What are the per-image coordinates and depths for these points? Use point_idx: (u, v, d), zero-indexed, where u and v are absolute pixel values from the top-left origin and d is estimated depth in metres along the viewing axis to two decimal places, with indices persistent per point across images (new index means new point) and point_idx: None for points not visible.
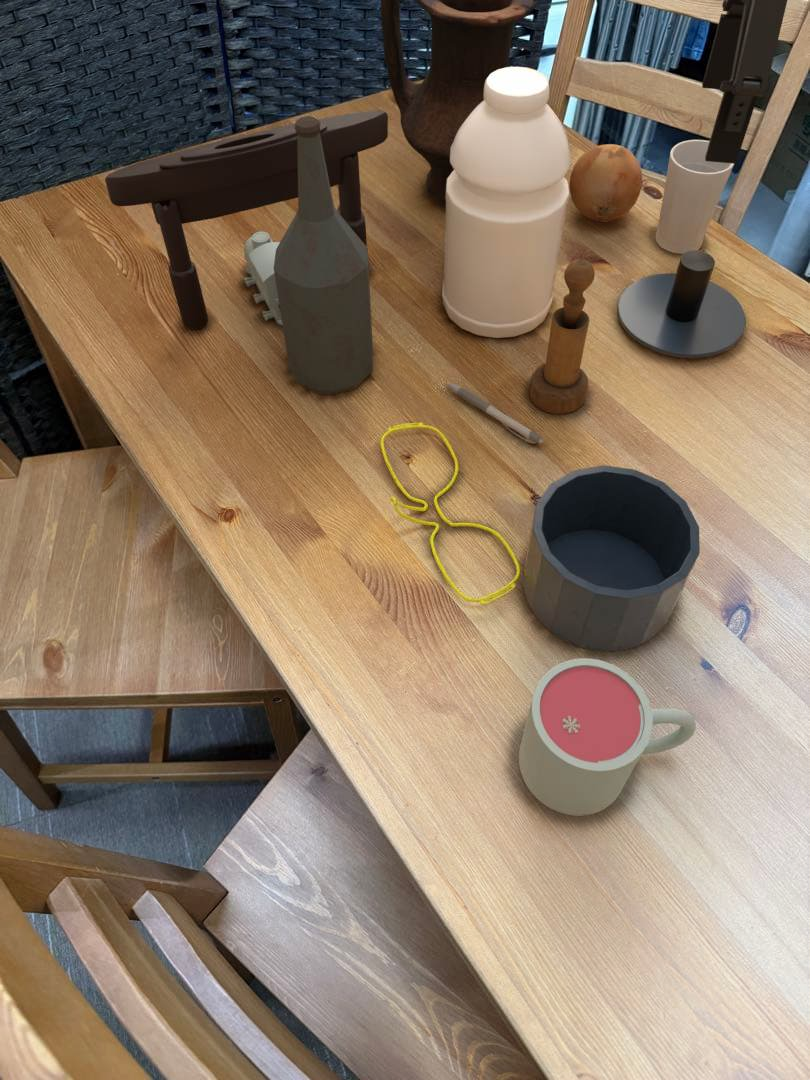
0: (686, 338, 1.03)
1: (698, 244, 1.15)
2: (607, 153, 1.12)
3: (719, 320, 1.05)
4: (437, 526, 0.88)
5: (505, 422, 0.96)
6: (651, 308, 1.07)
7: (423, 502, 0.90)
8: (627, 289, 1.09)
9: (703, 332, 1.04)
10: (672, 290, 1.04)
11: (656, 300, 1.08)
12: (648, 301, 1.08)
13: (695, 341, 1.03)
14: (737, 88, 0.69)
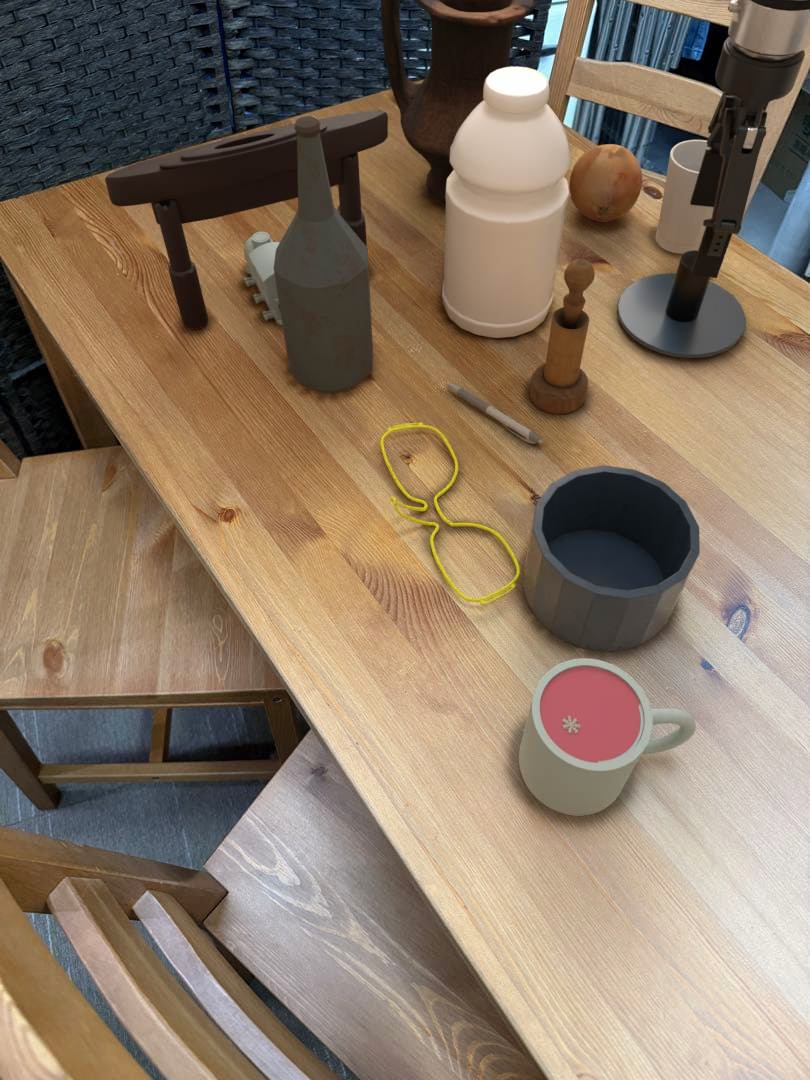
0: (686, 338, 1.03)
1: (698, 244, 1.15)
2: (607, 153, 1.12)
3: (719, 320, 1.05)
4: (437, 526, 0.88)
5: (505, 422, 0.96)
6: (651, 308, 1.07)
7: (423, 502, 0.90)
8: (627, 289, 1.09)
9: (703, 332, 1.04)
10: (672, 290, 1.04)
11: (656, 300, 1.08)
12: (648, 301, 1.08)
13: (695, 341, 1.03)
14: (716, 228, 0.86)
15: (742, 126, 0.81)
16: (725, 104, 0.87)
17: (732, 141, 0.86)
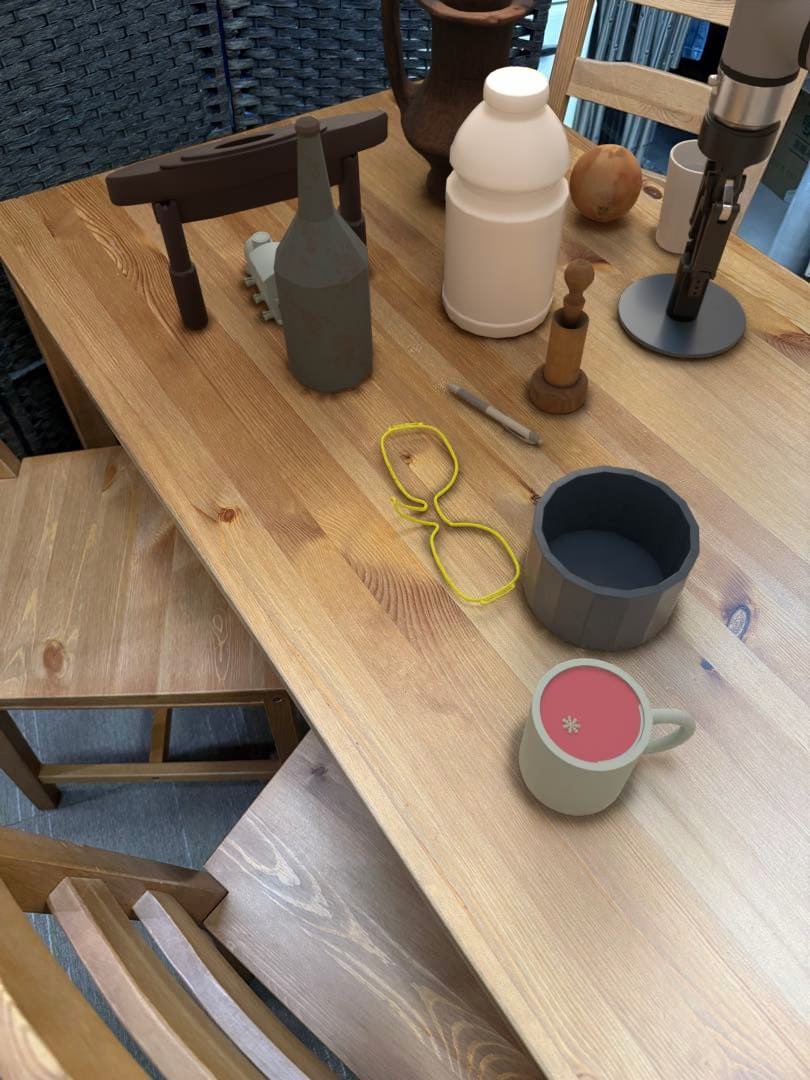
0: (686, 338, 1.03)
1: None
2: (607, 153, 1.12)
3: (719, 320, 1.05)
4: (437, 526, 0.88)
5: (505, 422, 0.96)
6: (651, 308, 1.07)
7: (423, 502, 0.90)
8: (627, 289, 1.09)
9: (703, 332, 1.04)
10: (672, 290, 1.04)
11: (657, 300, 1.08)
12: (648, 301, 1.08)
13: (695, 341, 1.03)
14: (693, 276, 0.96)
15: (717, 206, 0.88)
16: (708, 163, 0.92)
17: (714, 201, 0.91)
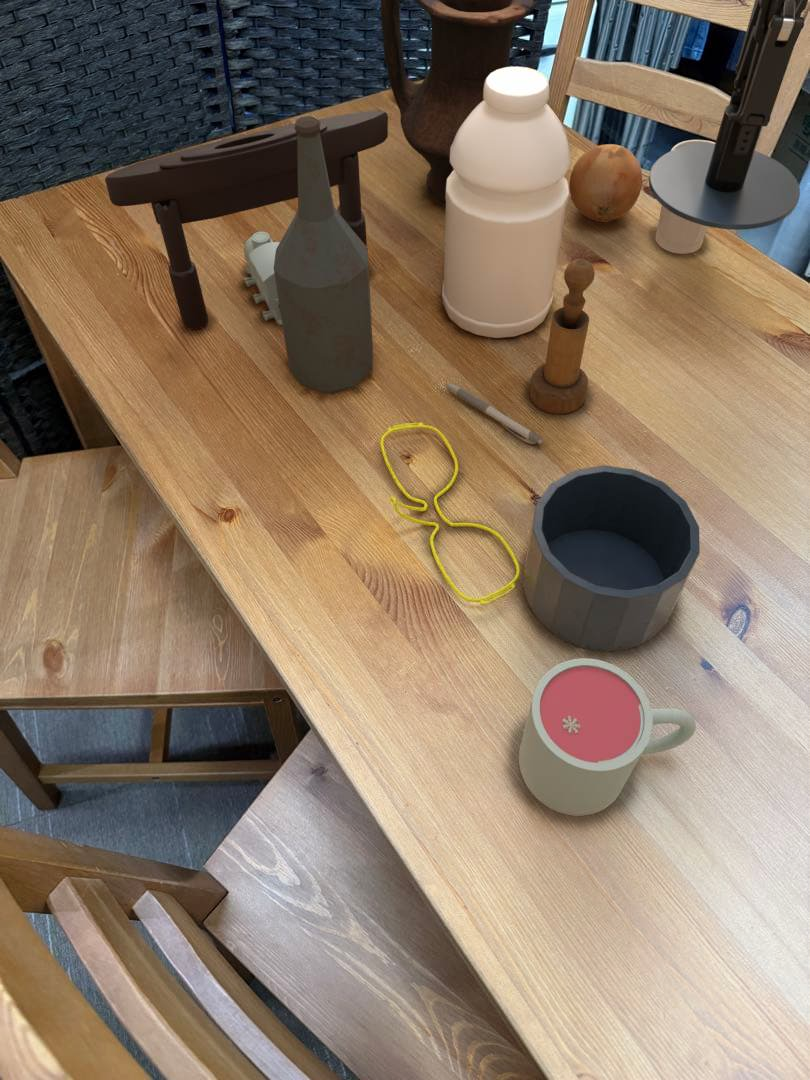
0: (730, 208, 0.88)
1: (698, 244, 1.15)
2: (607, 153, 1.12)
3: (768, 190, 0.90)
4: (437, 526, 0.88)
5: (504, 423, 0.96)
6: (688, 178, 0.92)
7: (423, 502, 0.90)
8: (660, 159, 0.94)
9: (750, 202, 0.89)
10: (714, 152, 0.88)
11: (694, 170, 0.92)
12: (685, 171, 0.92)
13: (741, 211, 0.88)
14: (743, 122, 0.81)
15: (777, 20, 0.73)
16: None
17: None
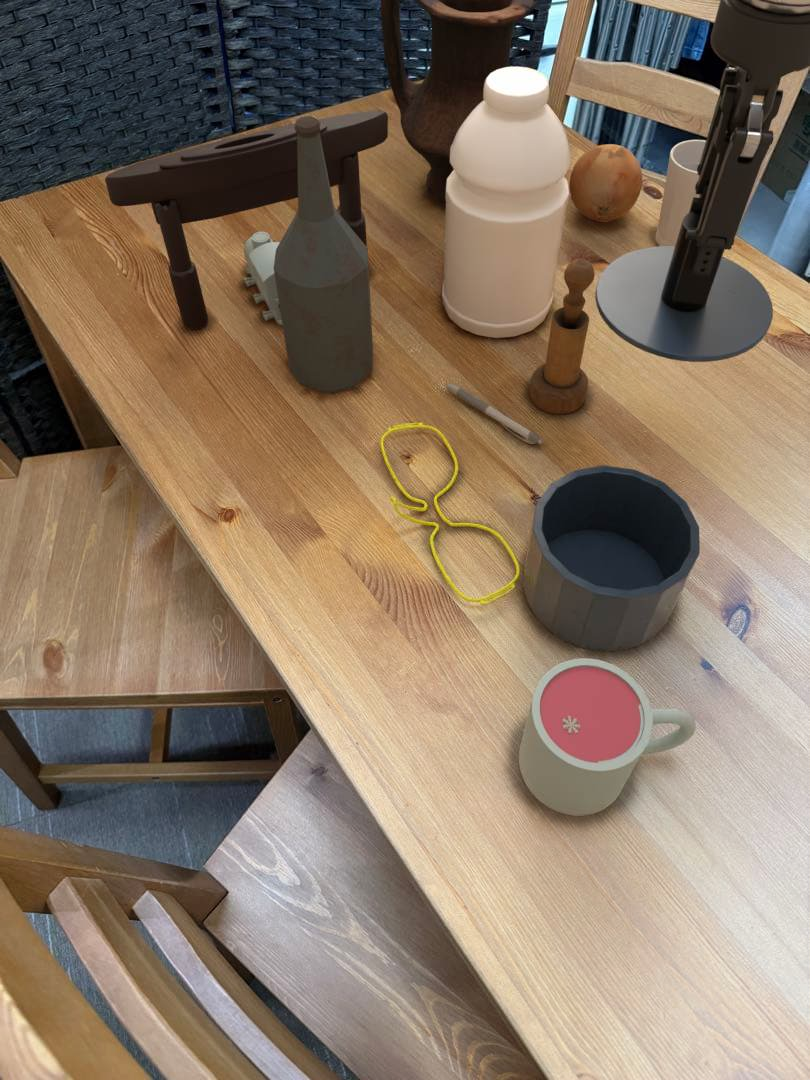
0: (689, 334, 0.74)
1: None
2: (607, 153, 1.12)
3: (736, 310, 0.76)
4: (437, 526, 0.88)
5: (504, 423, 0.96)
6: (641, 292, 0.77)
7: (423, 502, 0.90)
8: (610, 266, 0.79)
9: (713, 326, 0.74)
10: (671, 267, 0.74)
11: (650, 281, 0.78)
12: (638, 283, 0.78)
13: (702, 338, 0.74)
14: (701, 244, 0.66)
15: (739, 134, 0.58)
16: (726, 76, 0.62)
17: (734, 131, 0.62)
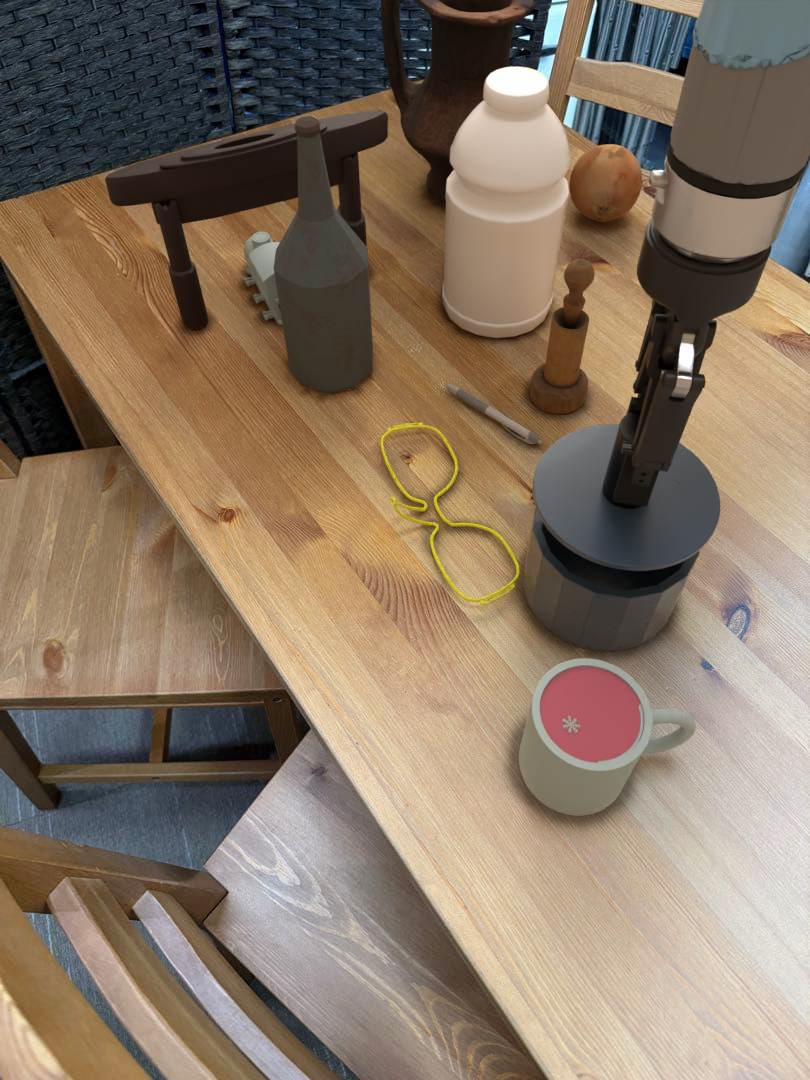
0: (630, 537, 0.69)
1: None
2: (607, 153, 1.12)
3: (681, 505, 0.71)
4: (437, 526, 0.88)
5: (504, 423, 0.96)
6: (581, 483, 0.72)
7: (423, 502, 0.90)
8: (549, 451, 0.75)
9: (656, 527, 0.70)
10: (610, 465, 0.69)
11: (590, 469, 0.73)
12: (578, 472, 0.73)
13: (644, 543, 0.69)
14: (636, 466, 0.61)
15: (668, 379, 0.53)
16: None
17: (666, 360, 0.57)
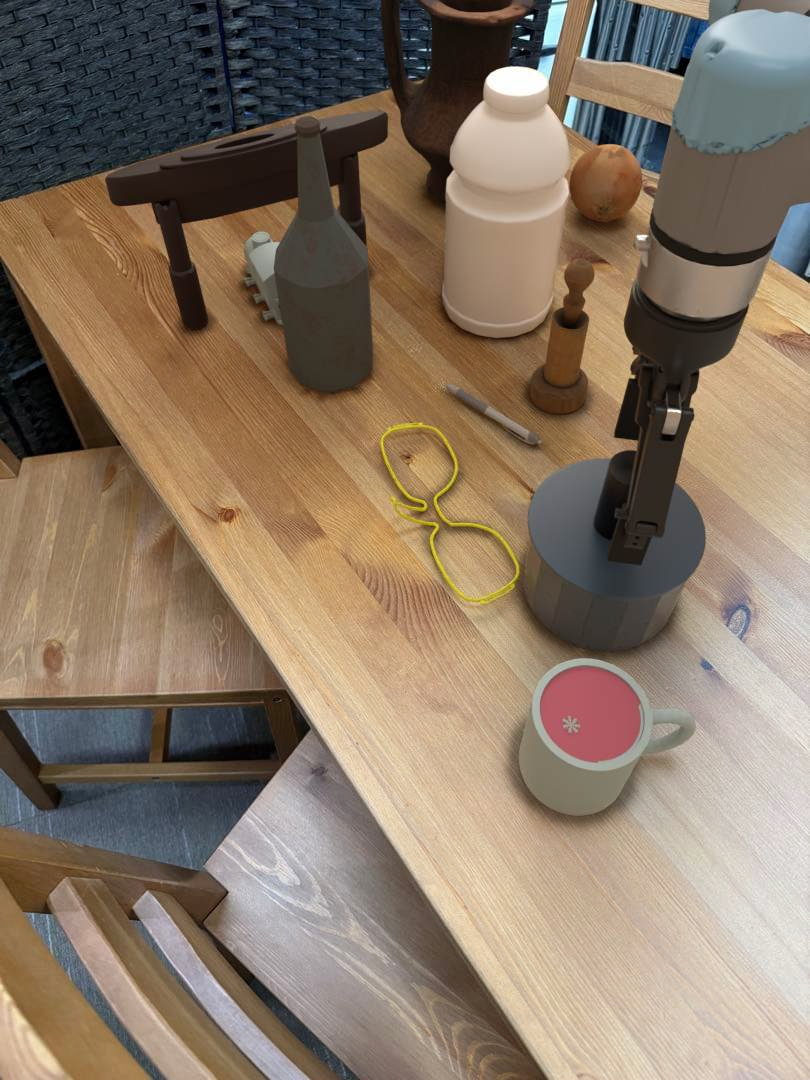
0: (620, 569, 0.73)
1: None
2: (607, 153, 1.12)
3: (668, 538, 0.75)
4: (437, 526, 0.88)
5: (504, 423, 0.96)
6: (573, 516, 0.76)
7: (423, 502, 0.90)
8: (543, 485, 0.78)
9: (645, 559, 0.73)
10: (600, 501, 0.73)
11: (582, 503, 0.77)
12: (570, 505, 0.77)
13: (633, 575, 0.72)
14: (630, 530, 0.60)
15: (659, 408, 0.56)
16: None
17: (652, 406, 0.61)
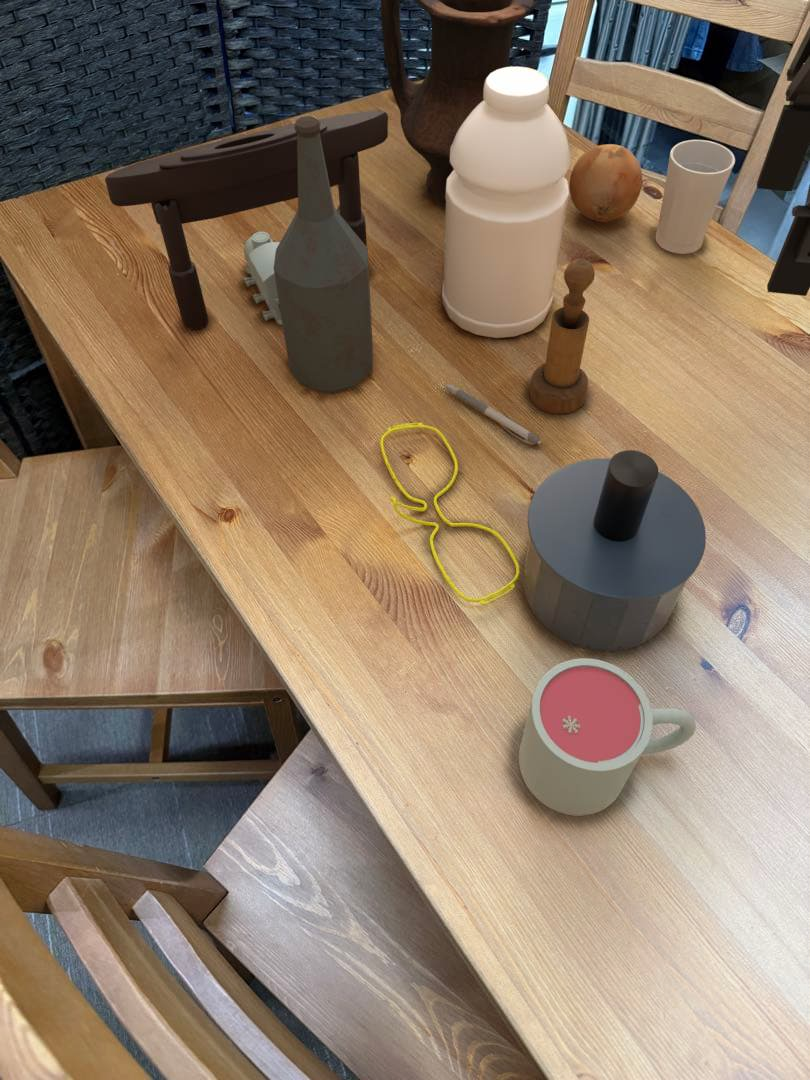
0: (620, 569, 0.73)
1: (698, 244, 1.15)
2: (607, 153, 1.12)
3: (668, 538, 0.75)
4: (437, 526, 0.88)
5: (504, 423, 0.96)
6: (573, 516, 0.76)
7: (423, 502, 0.90)
8: (543, 485, 0.78)
9: (645, 559, 0.73)
10: (600, 501, 0.73)
11: (582, 503, 0.77)
12: (570, 505, 0.77)
13: (633, 575, 0.72)
14: None
15: None
16: None
17: None
